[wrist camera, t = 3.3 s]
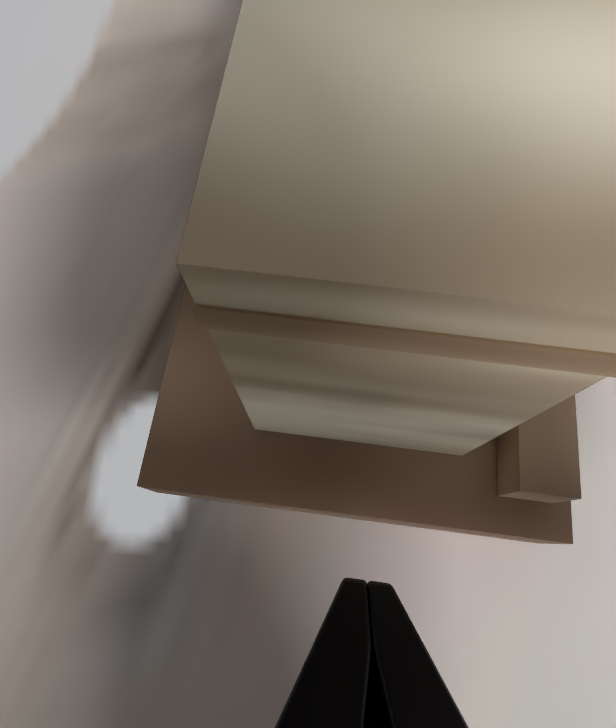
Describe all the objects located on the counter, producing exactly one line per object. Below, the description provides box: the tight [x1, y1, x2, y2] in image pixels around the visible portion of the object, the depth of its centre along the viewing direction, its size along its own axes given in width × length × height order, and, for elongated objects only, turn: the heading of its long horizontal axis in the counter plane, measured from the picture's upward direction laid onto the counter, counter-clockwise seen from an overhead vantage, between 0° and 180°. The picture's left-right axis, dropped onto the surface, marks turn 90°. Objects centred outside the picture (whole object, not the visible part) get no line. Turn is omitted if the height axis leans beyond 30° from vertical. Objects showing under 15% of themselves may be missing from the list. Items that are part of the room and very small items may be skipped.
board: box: [137, 284, 581, 544], centre depth 17 cm, size 26×12×5 cm, turn 173°
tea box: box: [176, 0, 616, 455], centre depth 12 cm, size 13×6×9 cm, turn 173°
